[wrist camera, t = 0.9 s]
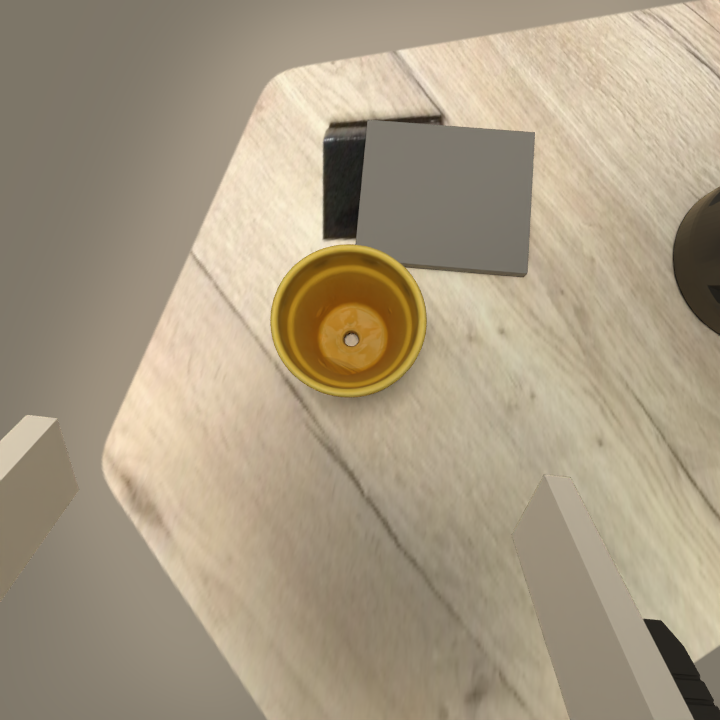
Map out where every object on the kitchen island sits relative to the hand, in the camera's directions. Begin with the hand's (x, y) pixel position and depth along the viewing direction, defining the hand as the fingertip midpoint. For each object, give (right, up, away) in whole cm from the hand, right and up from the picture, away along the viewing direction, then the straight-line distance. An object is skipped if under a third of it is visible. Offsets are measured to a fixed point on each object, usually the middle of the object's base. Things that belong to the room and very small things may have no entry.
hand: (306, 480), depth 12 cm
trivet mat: (+9, +18, +27) cm, 34 cm away
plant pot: (+1, +5, +26) cm, 27 cm away
